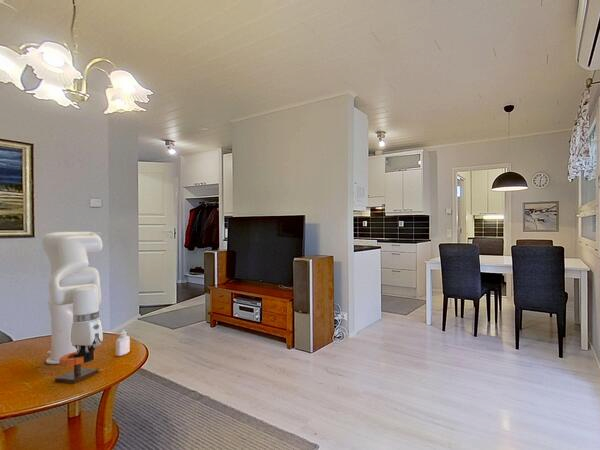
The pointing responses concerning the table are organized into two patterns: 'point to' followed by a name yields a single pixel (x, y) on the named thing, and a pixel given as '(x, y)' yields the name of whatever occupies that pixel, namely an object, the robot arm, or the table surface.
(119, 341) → the eye dropper bottle
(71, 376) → the post
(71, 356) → the ring
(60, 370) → the table surface
